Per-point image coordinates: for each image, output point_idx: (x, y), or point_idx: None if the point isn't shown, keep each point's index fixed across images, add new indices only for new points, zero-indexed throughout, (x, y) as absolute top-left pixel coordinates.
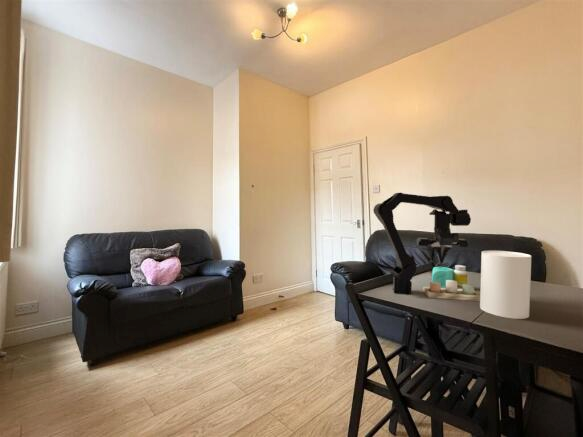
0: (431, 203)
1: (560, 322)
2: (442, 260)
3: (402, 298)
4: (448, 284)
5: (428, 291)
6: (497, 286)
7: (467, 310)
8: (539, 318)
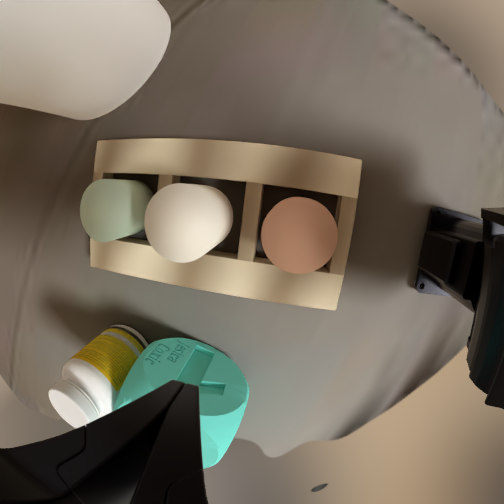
0: None
1: None
2: (163, 394)
3: (471, 148)
4: (215, 199)
5: (347, 205)
6: None
7: (235, 14)
8: None
